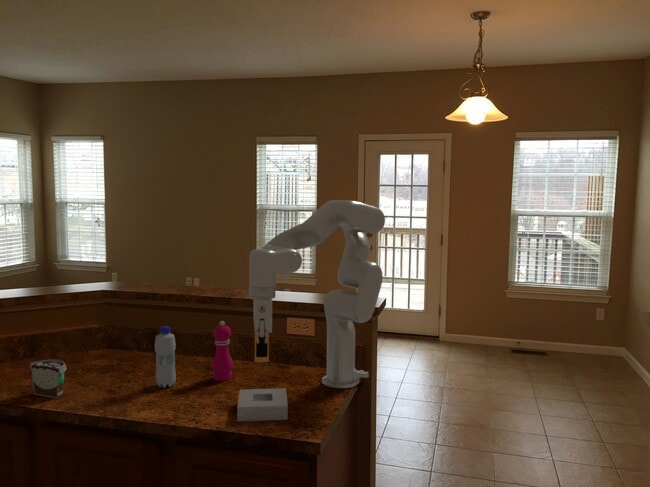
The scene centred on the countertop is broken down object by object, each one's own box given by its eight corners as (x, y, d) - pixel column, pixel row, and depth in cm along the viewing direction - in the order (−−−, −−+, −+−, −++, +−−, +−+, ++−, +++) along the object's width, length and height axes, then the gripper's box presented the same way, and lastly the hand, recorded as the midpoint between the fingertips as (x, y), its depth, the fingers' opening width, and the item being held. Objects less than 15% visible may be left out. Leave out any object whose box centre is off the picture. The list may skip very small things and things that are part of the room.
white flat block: (285, 400, 167) (285, 388, 167) (287, 419, 153) (287, 405, 153) (239, 402, 165) (239, 389, 165) (237, 421, 152) (237, 407, 151)
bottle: (157, 382, 183) (156, 323, 181) (178, 381, 183) (177, 323, 181) (153, 389, 176) (152, 328, 174) (174, 388, 176) (173, 328, 175)
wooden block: (268, 357, 160) (268, 327, 159) (268, 361, 156) (269, 331, 155) (254, 358, 159) (255, 327, 159) (254, 362, 155) (254, 331, 155)
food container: (76, 392, 173) (75, 361, 172) (61, 398, 167) (60, 367, 166) (46, 387, 177) (45, 357, 176) (30, 393, 171) (29, 362, 170)
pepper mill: (228, 382, 183) (228, 323, 181) (208, 380, 185) (207, 322, 183) (236, 375, 190) (235, 319, 188) (216, 373, 192) (216, 318, 190)
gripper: (276, 297, 148) (275, 363, 150) (275, 287, 165) (274, 346, 166) (248, 297, 147) (247, 363, 149) (250, 287, 164) (249, 347, 165)
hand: (261, 353), depth 157 cm, fingers closed on wooden block, 4 cm apart
